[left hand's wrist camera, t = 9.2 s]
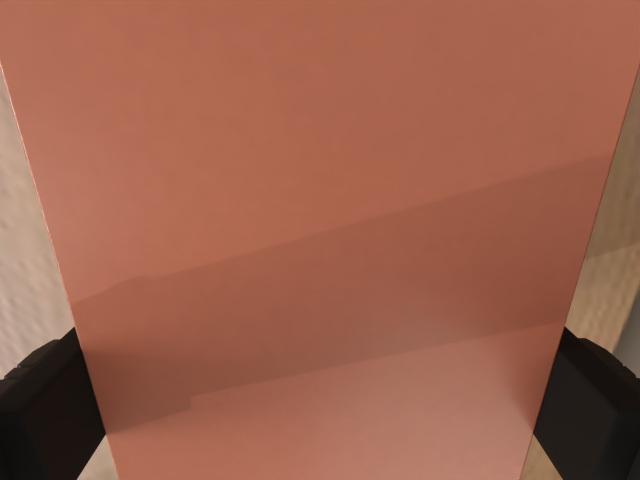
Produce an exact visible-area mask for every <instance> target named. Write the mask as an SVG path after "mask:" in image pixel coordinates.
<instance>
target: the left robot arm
mask: <svg viewBox="0 0 640 480" xmlns="http://www.w3.org/2000/svg"><path fill="white" fill-rule="evenodd" d="M533 434H534V435H535V437H536V438H537V440H538V442H539V443H540V445H541V446H542V448H543V449H544V451H545V452H546V454H547V456H548V457H549V459H550V460H551V462H552V463H553V465H554V466H555V468H556V470H557V471H558V473H559V474H560V476H561V477H562V479H563V480H640V378H636V375H635V374H634V373H633V372H631V371H630V370H629V369H628V368H627V367H626V366H623V365H622V363H621V362H620V361H619V360H618V359H616V358H615V357H614V356H613V355H612V354H611V353H610V352H608V351H607V350H606V349H604V348H602V347H601V346H599V345H597V344H595V343H593V342H592V341H590V340H588V339H586V338H577V337H576V336H575V335H574V334H573V333H572V332H570V331H569V330H568V329H567V328H566V327H565V326H564V330H563V333H562V337H561V340H560V343H559V347H558V350H557V354H556V357H555V361H554V364H553V368H552V371H551V374H550V378H549V381H548V385H547V388H546V392H545V395H544V399H543V402H542V405H541V409H540V412H539V416H538V419H537V423H536V426H535V430H534V433H533ZM105 435H106V433H105V430H104V426H103V423H102V419H101V416H100V412H99V409H98V405H97V402H96V398H95V395H94V391H93V388H92V384H91V381H90V377H89V374H88V370H87V367H86V363H85V360H84V357H83V353H82V350H81V346H80V343H79V339H78V336H77V332H76V329H75V327H73V328H72V329H71V330H70V331H69V332H68V333H67V334H66V335H65V336H64V337H63V338H61V339H60V340H52V341H51V342H49V343H47V344H45V345H43V346H42V347H40V348H38V349H36V350H35V351H33V352H32V353H31V354H30V355H28V356H27V357H26V358H25V359H24V360H23V361H22V362H20V363H19V364H18V366H17V368H14V369H12V370H11V371H10V372H9V373H8V374H7V375H5V376H4V379H3V380H0V480H77V478H78V477H79V475H80V474H81V472H82V470H83V469H84V467H85V466H86V464H87V463H88V461H89V460H90V458H91V456H92V455H93V453H94V452H95V450H96V449H97V447H98V446H99V444H100V442H101V441H102V439H103V438H104V436H105Z"/></svg>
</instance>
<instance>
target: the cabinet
mask: <svg viewBox="0 0 640 480" xmlns="http://www.w3.org/2000/svg"><path fill="white" fill-rule="evenodd" d="M0 67H1V71H2V74H3V78H4V81H5V85H6V88H7V92H8V95H9V99H10V102H11V106H12V109H13V113H14V116H15V120H16V123H17V127H18V130H19V134H20V137H21V141H22V144H23V148H24V151H25V155H26V158H27V161H28V165H29V168H30V172H31V175H32V179H33V182H34V186H35V189H36V193H37V196H38V200H39V203H40V207H41V210H42V214H43V217H44V221H45V224H46V228H47V231H48V235H49V238H50V242H51V245H52V249H53V252H54V256H55V259H56V262H57V266H58V269H59V273H60V276H61V280H62V283H63V287H64V290H65V294H66V297H67V301H68V304H69V308H70V311H71V315H72V318H73V322H74V325H75V329H76V332H77V336H78V339H79V343H80V346H81V350H82V353H83V357H84V360H85V363H86V367H87V370H88V374H89V377H90V381H91V384H92V388H93V391H94V395H95V398H96V402H97V405H98V409H99V412H100V416H101V419H102V423H103V426H104V430H105V433H106V437H107V440H108V444H109V447H110V451H111V454H112V458H113V461H114V464H115V468H116V471H117V475H118V478H119V480H520V478H521V474H522V471H523V467H524V464H525V461H526V457H527V454H528V450H529V447H530V443H531V440H532V436H533V433H534V430H535V426H536V423H537V419H538V416H539V412H540V409H541V405H542V402H543V399H544V395H545V392H546V388H547V385H548V381H549V378H550V374H551V371H552V368H553V364H554V361H555V357H556V354H557V350H558V347H559V343H560V340H561V337H562V333H563V330H564V326H565V323H566V319H567V316H568V312H569V309H570V306H571V302H572V299H573V295H574V292H575V288H576V285H577V281H578V278H579V275H580V271H581V268H582V264H583V261H584V257H585V254H586V250H587V247H588V244H589V240H590V237H591V233H592V230H593V226H594V223H595V219H596V216H597V213H598V209H599V206H600V202H601V199H602V195H603V192H604V188H605V185H606V182H607V178H608V175H609V171H610V168H611V164H612V161H613V157H614V154H615V151H616V147H617V144H618V140H619V137H620V133H621V130H622V126H623V123H624V120H625V116H626V113H627V109H628V106H629V102H630V99H631V95H632V92H633V89H634V85H635V82H636V78H637V75H638V71H639V68H640V0H0Z"/></svg>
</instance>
